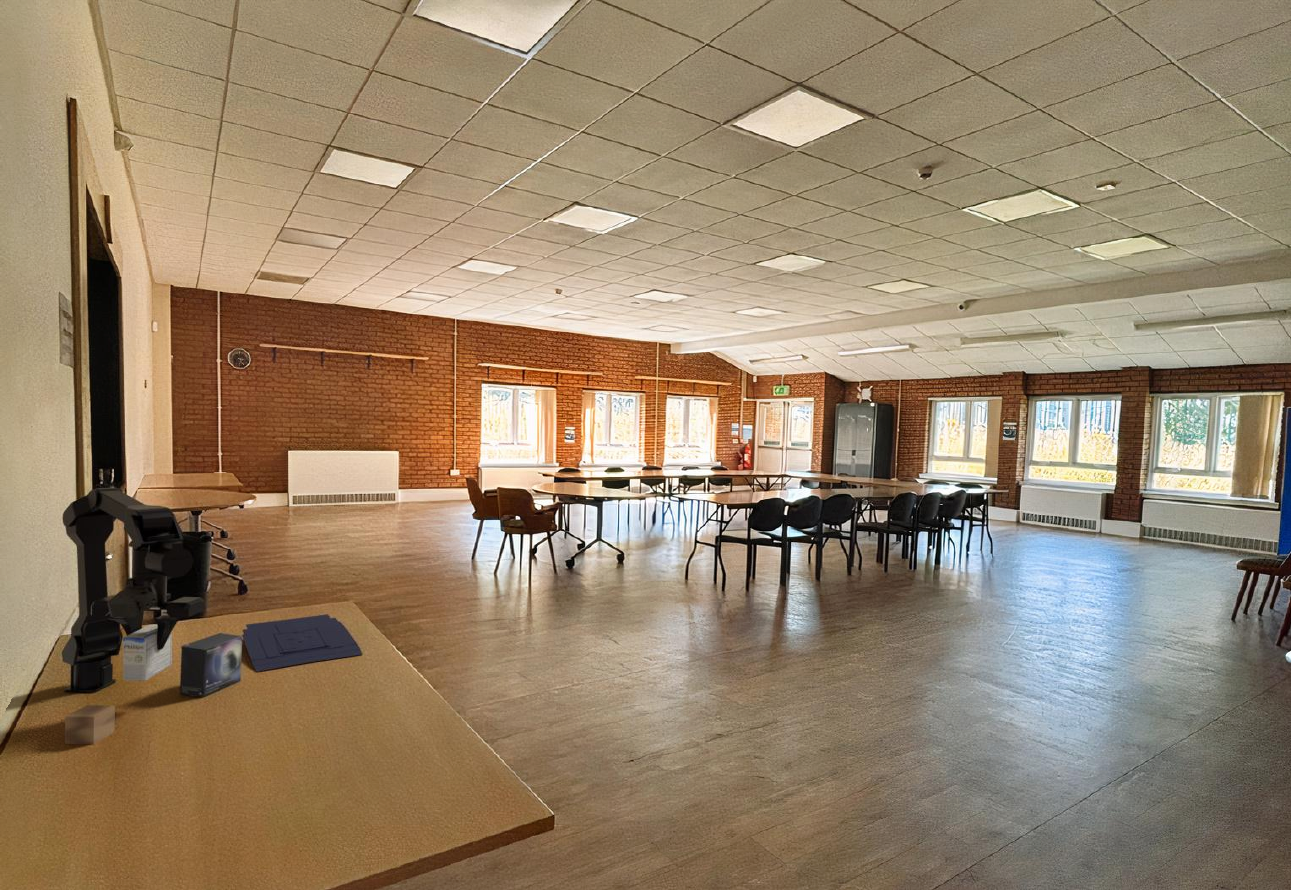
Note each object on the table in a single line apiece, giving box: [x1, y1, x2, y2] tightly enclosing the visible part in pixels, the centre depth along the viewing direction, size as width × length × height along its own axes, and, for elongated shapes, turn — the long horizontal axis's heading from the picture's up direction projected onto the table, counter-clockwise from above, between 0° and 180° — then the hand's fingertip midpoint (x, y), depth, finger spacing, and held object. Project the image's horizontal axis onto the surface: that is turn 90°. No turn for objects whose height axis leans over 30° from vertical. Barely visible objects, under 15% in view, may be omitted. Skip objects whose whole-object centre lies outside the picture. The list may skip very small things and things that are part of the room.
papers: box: [241, 613, 363, 673], centre depth 180 cm, size 24×30×4 cm
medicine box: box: [122, 624, 173, 682], centre depth 138 cm, size 8×4×9 cm, turn 2°
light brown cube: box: [64, 704, 116, 745], centre depth 126 cm, size 5×5×5 cm
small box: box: [178, 632, 243, 698], centre depth 151 cm, size 11×6×10 cm, turn 168°
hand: (148, 649), depth 138 cm, fingers closed on medicine box, 4 cm apart
